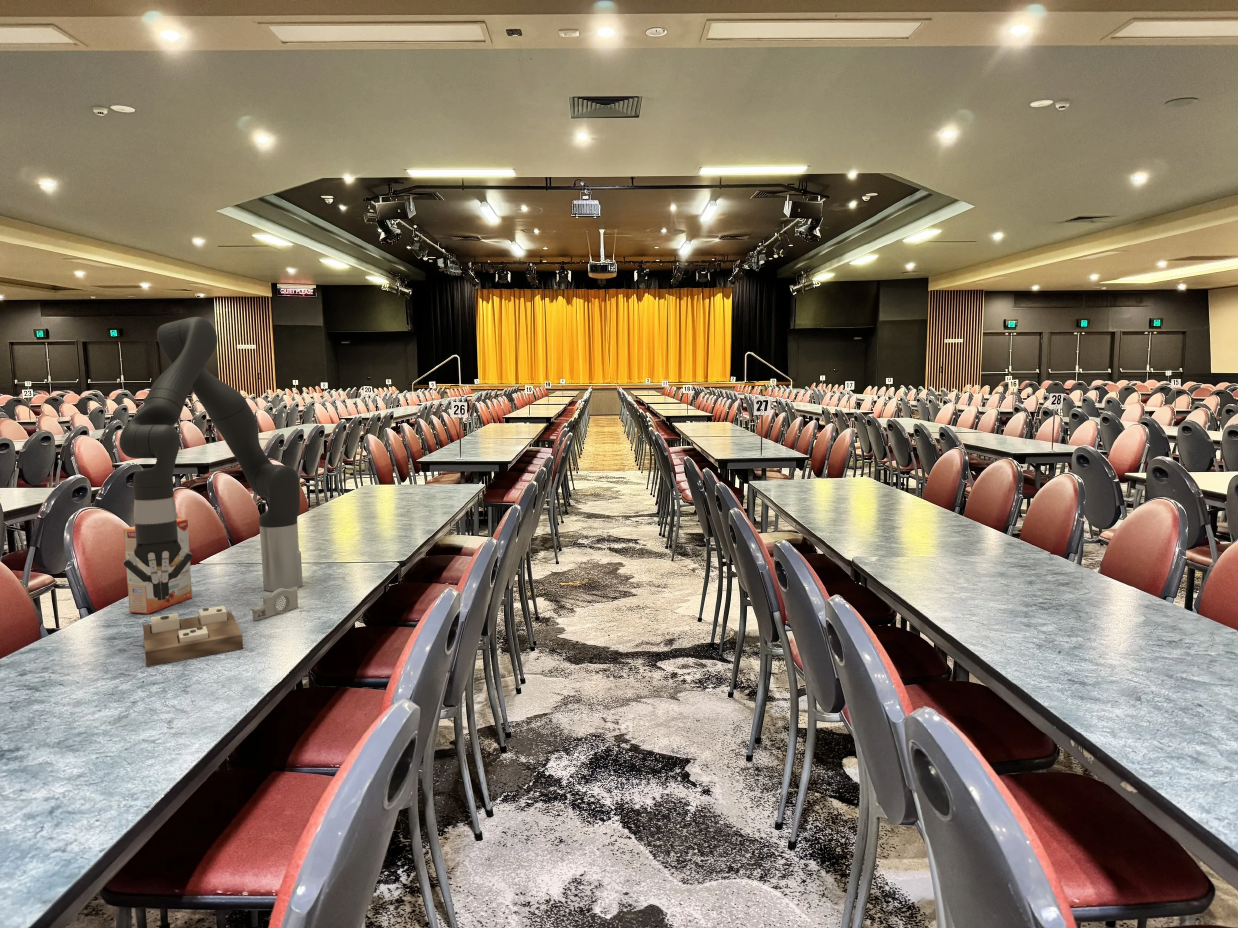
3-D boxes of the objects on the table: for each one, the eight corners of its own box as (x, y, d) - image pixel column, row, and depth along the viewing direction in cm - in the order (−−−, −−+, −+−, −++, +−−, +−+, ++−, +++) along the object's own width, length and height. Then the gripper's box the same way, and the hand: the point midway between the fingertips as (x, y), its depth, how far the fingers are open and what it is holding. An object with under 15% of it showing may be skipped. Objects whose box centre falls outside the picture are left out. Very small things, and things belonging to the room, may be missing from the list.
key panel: (231, 623, 168) (231, 610, 168) (243, 648, 153) (242, 634, 152) (144, 638, 159) (142, 625, 159) (146, 666, 143) (145, 651, 143)
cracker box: (149, 614, 175) (142, 529, 172) (128, 613, 176) (121, 528, 174) (194, 597, 188) (188, 517, 186) (174, 596, 190) (168, 517, 187)
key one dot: (178, 628, 161) (177, 611, 160) (180, 634, 157) (179, 617, 156) (151, 632, 158) (150, 615, 157) (152, 639, 154) (151, 622, 153)
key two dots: (225, 620, 166) (223, 604, 165) (227, 626, 162) (226, 610, 161) (199, 624, 163) (198, 608, 162) (201, 631, 159) (200, 614, 158)
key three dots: (206, 642, 155) (205, 624, 155) (209, 649, 151) (207, 631, 151) (179, 646, 152) (178, 629, 152) (181, 654, 148) (179, 636, 148)
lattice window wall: (255, 621, 170) (254, 597, 169) (250, 620, 171) (249, 595, 170) (300, 607, 180) (298, 584, 179) (295, 606, 181) (293, 583, 180)
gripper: (190, 513, 161) (195, 590, 163) (118, 519, 154) (124, 599, 156) (193, 518, 155) (198, 598, 157) (117, 525, 148) (124, 608, 150)
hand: (161, 598), depth 156 cm, fingers closed
